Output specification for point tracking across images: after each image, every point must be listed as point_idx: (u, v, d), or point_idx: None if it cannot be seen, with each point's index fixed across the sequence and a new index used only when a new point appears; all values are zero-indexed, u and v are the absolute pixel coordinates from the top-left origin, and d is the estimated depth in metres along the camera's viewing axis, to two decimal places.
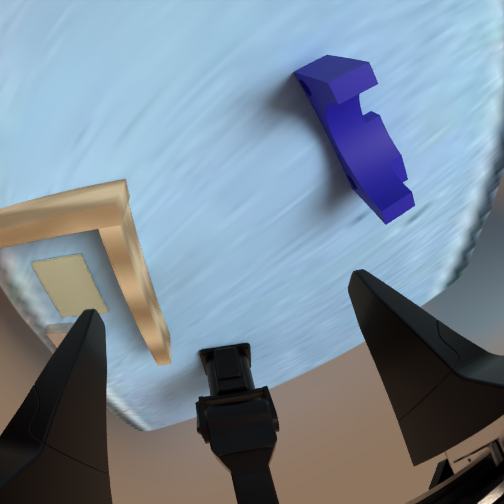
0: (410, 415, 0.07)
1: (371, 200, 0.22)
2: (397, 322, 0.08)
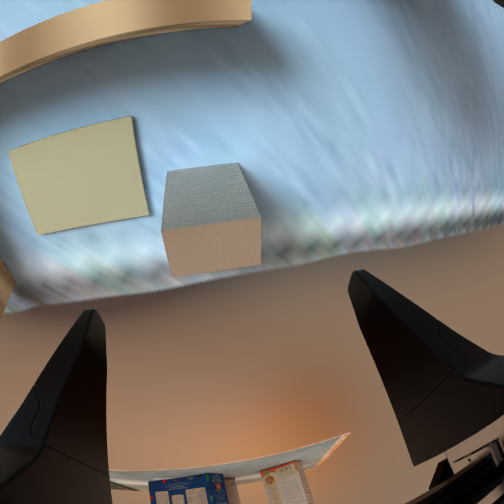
0: (410, 415, 0.07)
1: None
2: (397, 322, 0.08)
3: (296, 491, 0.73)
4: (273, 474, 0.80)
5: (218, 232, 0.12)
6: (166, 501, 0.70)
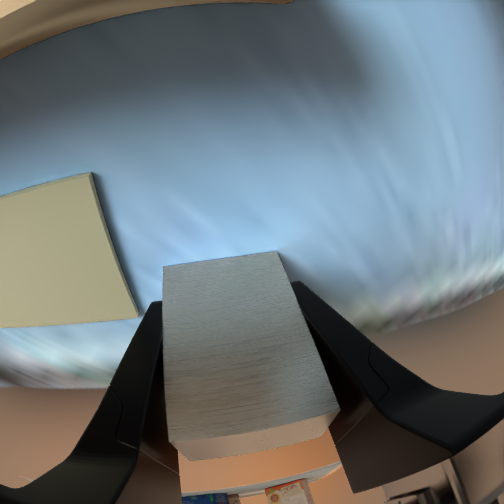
0: (343, 442, 0.07)
1: None
2: (323, 342, 0.07)
3: None
4: (278, 492, 0.75)
5: (266, 433, 0.06)
6: None
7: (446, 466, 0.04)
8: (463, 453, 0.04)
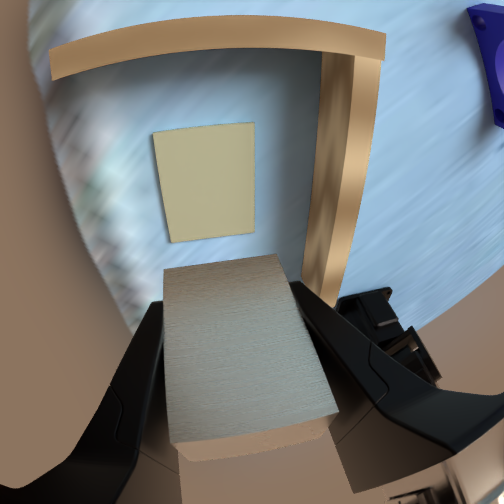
0: (343, 442, 0.07)
1: None
2: (323, 342, 0.07)
3: None
4: None
5: (266, 435, 0.06)
6: None
7: (446, 466, 0.04)
8: (463, 453, 0.04)
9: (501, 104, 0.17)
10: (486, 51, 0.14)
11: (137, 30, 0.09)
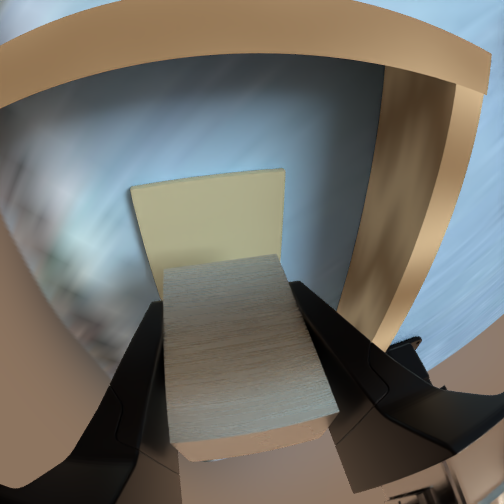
0: (343, 442, 0.07)
1: None
2: (323, 342, 0.07)
3: None
4: None
5: (266, 435, 0.06)
6: None
7: (446, 466, 0.04)
8: (463, 453, 0.04)
9: None
10: None
11: (75, 23, 0.04)
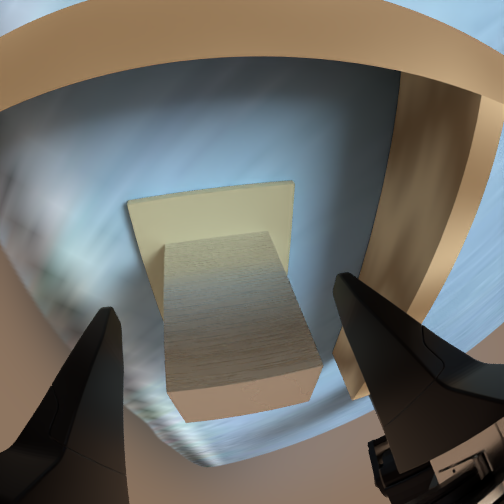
0: (394, 422, 0.07)
1: None
2: (380, 327, 0.08)
3: None
4: None
5: (255, 388, 0.07)
6: None
7: (500, 426, 0.04)
8: None
9: None
10: None
11: (58, 22, 0.03)
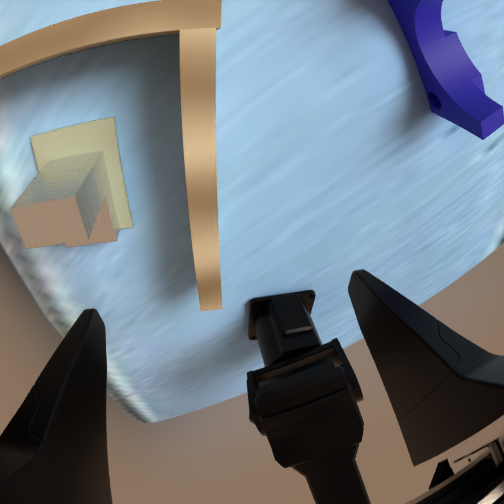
0: (410, 415, 0.07)
1: (465, 113, 0.15)
2: (397, 322, 0.08)
3: None
4: None
5: (46, 210, 0.12)
6: None
7: None
8: None
9: (433, 86, 0.16)
10: (404, 23, 0.13)
11: None
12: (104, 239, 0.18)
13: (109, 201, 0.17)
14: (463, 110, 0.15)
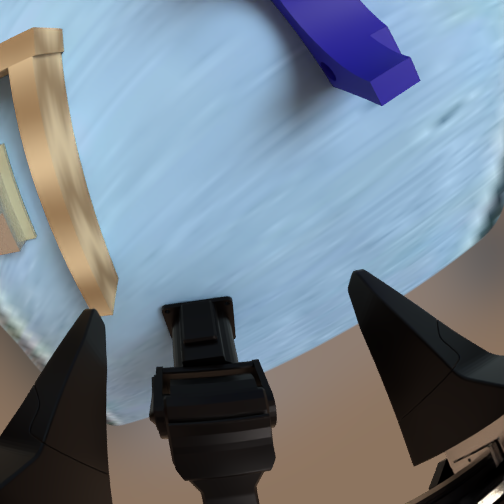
0: (410, 415, 0.07)
1: (354, 76, 0.13)
2: (397, 322, 0.08)
3: None
4: None
5: None
6: None
7: None
8: None
9: (319, 54, 0.14)
10: None
11: None
12: (11, 249, 0.17)
13: (9, 217, 0.16)
14: (351, 73, 0.13)
